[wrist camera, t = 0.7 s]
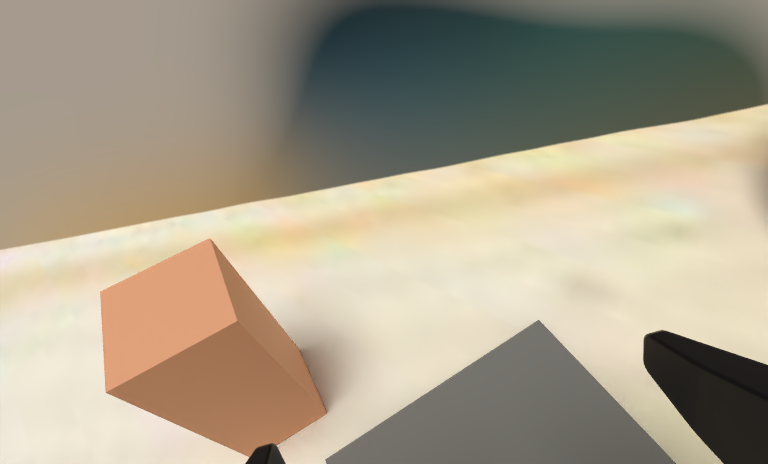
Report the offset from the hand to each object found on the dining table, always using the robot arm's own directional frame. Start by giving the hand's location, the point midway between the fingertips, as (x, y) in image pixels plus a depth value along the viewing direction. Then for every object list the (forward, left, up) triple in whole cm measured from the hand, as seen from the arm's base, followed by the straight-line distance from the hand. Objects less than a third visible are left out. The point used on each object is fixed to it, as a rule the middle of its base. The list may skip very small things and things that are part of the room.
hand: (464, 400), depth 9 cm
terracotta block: (+2, +12, -16) cm, 20 cm away
